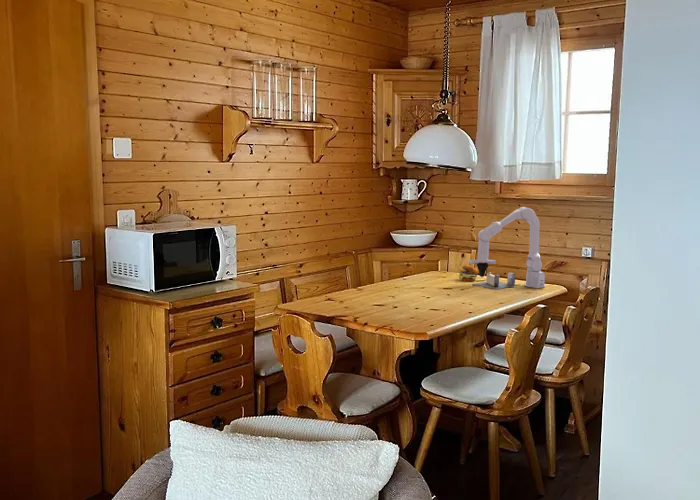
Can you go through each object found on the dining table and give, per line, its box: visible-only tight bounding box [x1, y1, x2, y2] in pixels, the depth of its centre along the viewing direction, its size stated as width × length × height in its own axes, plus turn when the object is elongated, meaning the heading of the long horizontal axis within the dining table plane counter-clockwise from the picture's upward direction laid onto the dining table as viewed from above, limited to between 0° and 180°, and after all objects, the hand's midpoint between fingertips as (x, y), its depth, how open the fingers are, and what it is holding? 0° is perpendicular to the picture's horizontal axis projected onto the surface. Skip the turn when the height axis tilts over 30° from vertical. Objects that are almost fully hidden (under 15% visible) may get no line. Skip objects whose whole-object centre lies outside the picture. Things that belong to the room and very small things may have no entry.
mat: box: [472, 281, 518, 291], centre depth 382 cm, size 16×19×1 cm
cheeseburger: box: [458, 264, 480, 282], centre depth 396 cm, size 10×11×10 cm
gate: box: [485, 271, 496, 286], centre depth 381 cm, size 10×2×6 cm, turn 12°
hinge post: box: [494, 274, 500, 287], centre depth 375 cm, size 2×2×6 cm
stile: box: [506, 272, 516, 286], centre depth 382 cm, size 5×6×6 cm
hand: (481, 276), depth 382 cm, fingers closed
